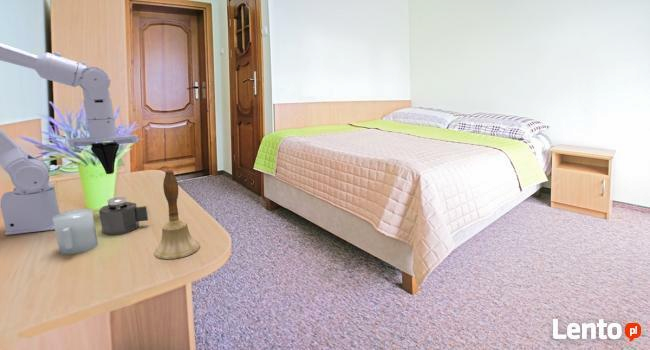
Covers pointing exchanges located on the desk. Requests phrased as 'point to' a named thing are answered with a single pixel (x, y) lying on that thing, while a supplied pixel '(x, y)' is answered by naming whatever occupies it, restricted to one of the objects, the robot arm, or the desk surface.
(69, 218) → the white dome with tab
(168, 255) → the hand bell
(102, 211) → the grey octagonal pot
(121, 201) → the grey flared round piece
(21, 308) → the desk surface
